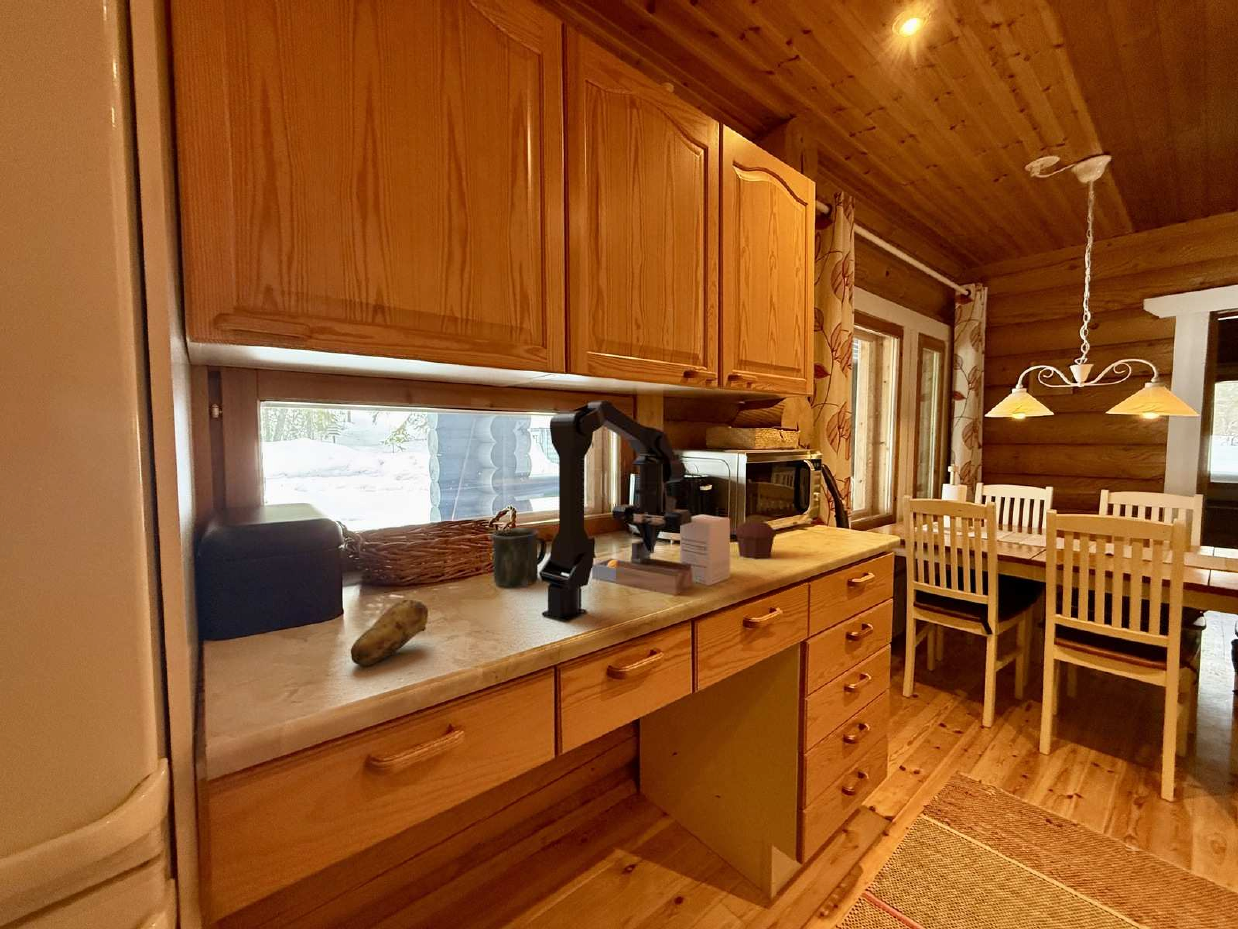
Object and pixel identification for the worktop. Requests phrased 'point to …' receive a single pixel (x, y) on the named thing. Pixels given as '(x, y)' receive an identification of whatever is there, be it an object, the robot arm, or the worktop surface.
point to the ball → (612, 563)
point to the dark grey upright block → (640, 553)
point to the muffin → (755, 539)
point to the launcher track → (655, 576)
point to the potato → (390, 632)
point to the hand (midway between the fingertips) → (650, 551)
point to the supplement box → (706, 548)
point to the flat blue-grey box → (605, 571)
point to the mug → (516, 556)
